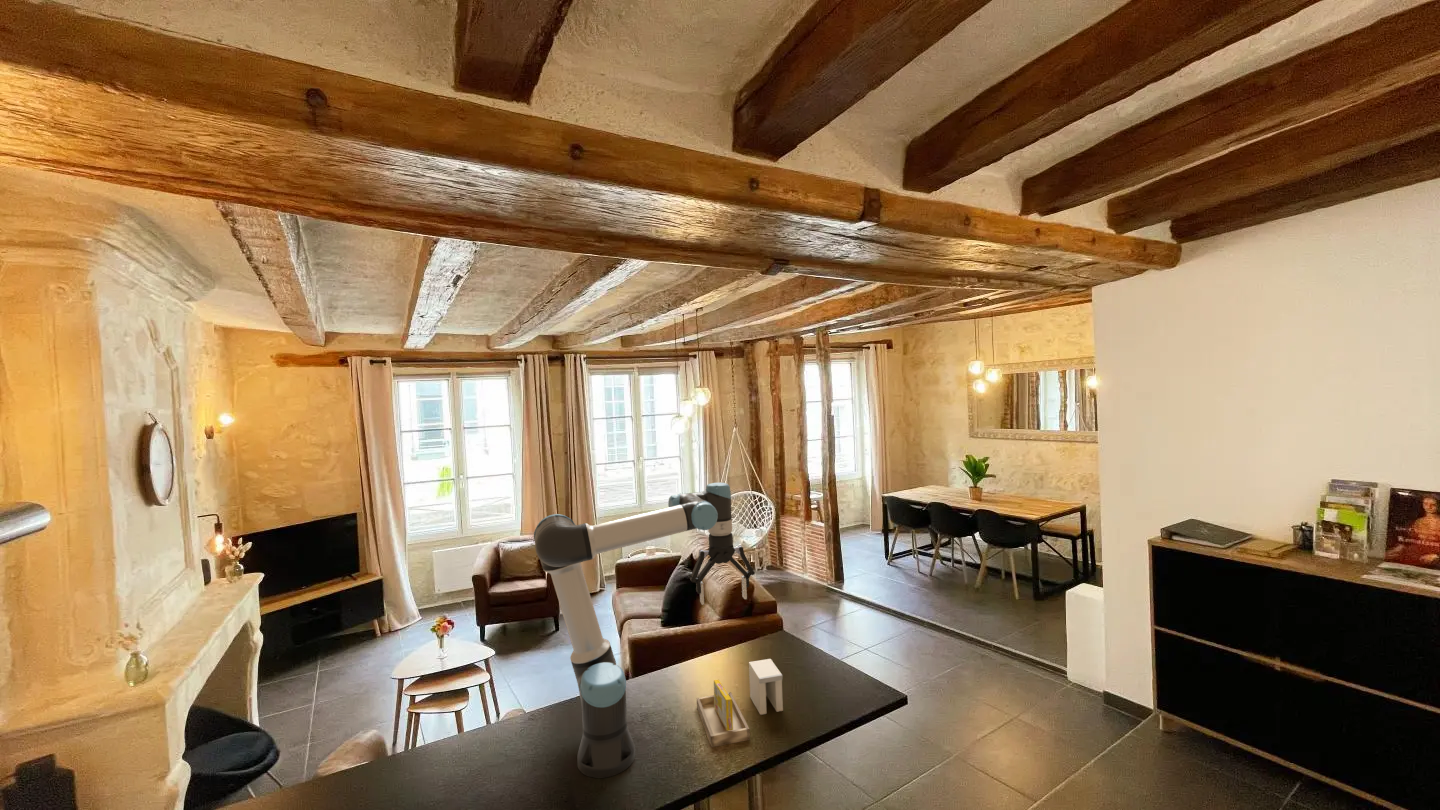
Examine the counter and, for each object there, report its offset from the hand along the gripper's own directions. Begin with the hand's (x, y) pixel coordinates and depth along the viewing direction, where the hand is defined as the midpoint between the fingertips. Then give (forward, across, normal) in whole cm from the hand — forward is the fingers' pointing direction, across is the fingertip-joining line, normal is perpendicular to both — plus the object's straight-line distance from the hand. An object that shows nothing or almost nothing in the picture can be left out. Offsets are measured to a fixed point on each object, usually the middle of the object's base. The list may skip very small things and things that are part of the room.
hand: (723, 600), depth 174 cm
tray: (+32, -4, -11) cm, 34 cm away
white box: (+32, +11, -5) cm, 34 cm away
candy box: (+30, -4, -12) cm, 33 cm away
